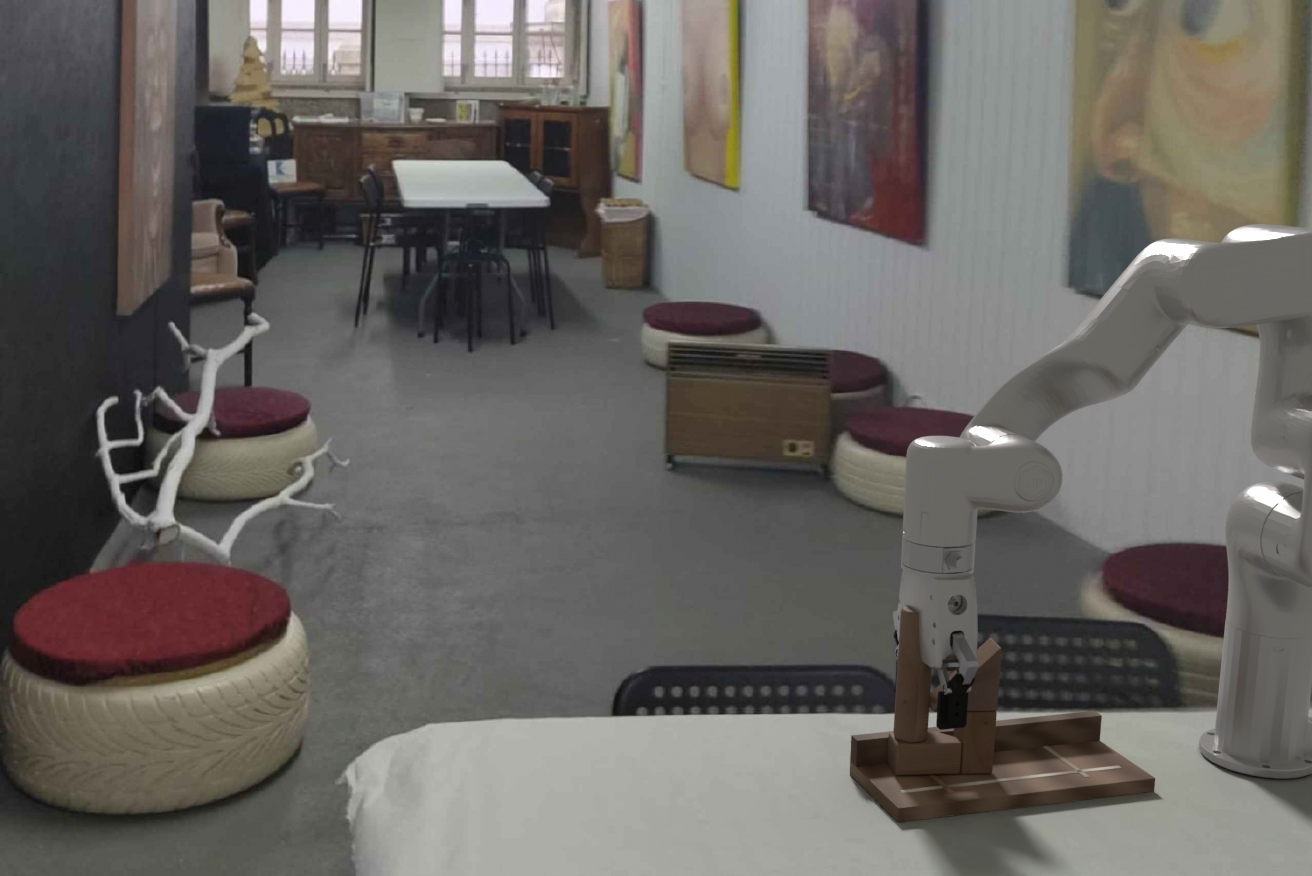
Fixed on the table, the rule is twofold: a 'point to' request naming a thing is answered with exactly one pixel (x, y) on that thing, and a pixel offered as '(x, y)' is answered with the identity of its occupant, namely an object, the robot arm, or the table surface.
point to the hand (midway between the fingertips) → (929, 710)
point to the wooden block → (911, 739)
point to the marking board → (1005, 770)
